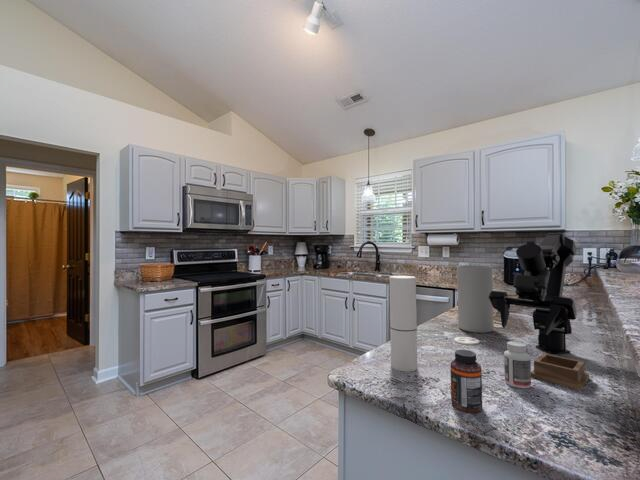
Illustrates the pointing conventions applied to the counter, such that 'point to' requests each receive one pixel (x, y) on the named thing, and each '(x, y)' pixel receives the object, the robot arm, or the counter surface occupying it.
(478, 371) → the supplement bottle
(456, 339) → the pendant
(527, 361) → the pill bottle
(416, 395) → the counter surface
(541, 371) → the socket block
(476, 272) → the cylinder vase
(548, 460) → the counter surface
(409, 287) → the cylindrical container
